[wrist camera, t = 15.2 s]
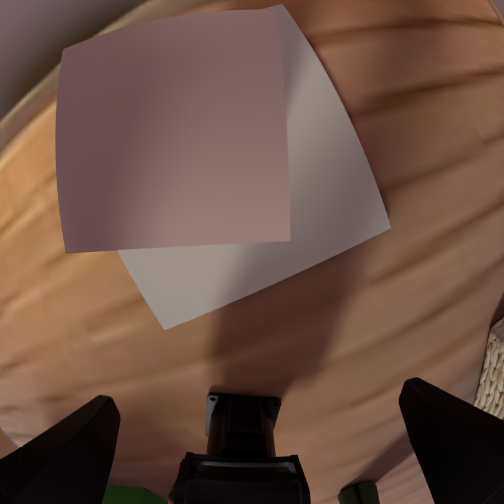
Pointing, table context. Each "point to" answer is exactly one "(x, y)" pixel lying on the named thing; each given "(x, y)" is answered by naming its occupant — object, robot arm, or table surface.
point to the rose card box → (174, 134)
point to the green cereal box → (130, 496)
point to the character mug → (360, 494)
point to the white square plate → (301, 204)
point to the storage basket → (493, 374)
